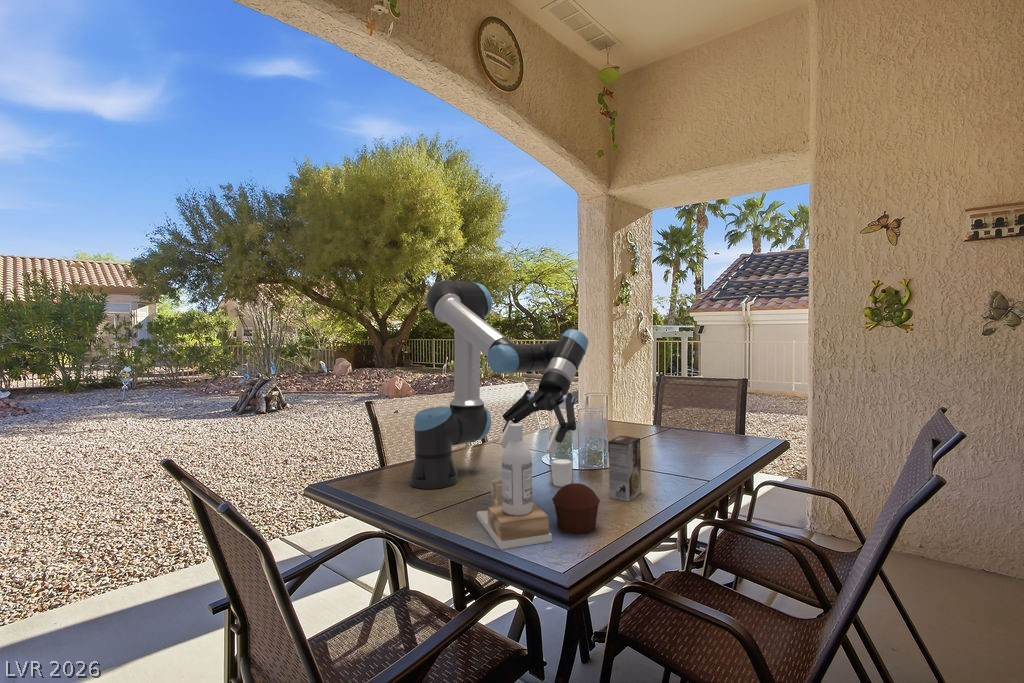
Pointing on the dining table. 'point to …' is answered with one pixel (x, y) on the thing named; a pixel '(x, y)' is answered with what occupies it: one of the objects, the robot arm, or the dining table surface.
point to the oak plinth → (517, 523)
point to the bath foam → (516, 474)
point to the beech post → (496, 492)
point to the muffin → (576, 509)
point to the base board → (483, 519)
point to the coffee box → (624, 468)
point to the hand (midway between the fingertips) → (524, 449)
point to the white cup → (561, 472)
